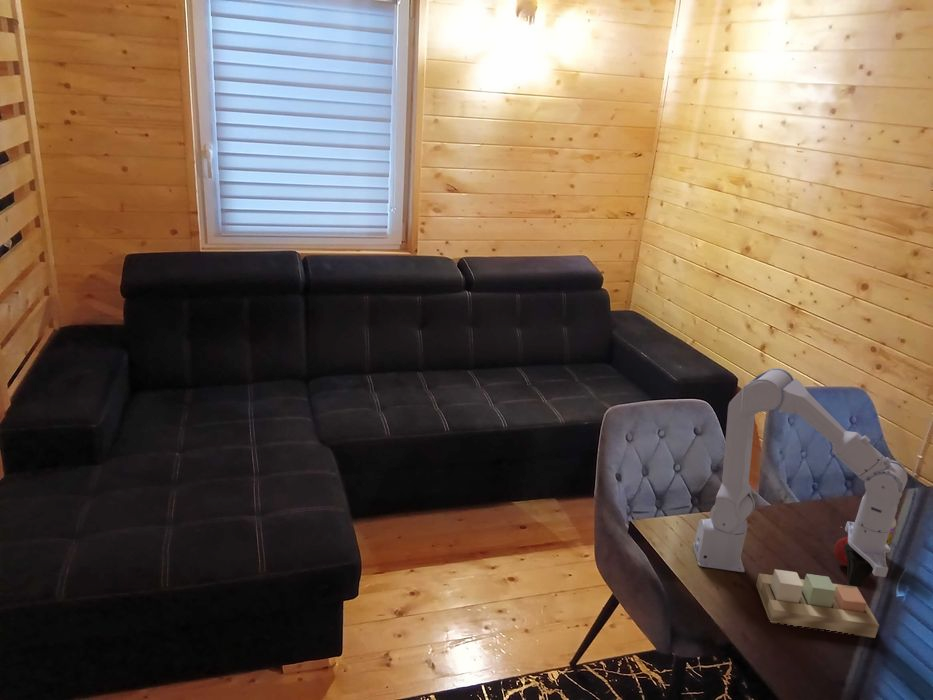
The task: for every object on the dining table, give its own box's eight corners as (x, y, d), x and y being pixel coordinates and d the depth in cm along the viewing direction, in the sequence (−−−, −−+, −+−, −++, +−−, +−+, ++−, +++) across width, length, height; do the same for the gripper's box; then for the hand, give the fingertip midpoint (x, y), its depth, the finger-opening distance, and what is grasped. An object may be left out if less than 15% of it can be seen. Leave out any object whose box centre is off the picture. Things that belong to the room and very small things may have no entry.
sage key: (808, 604, 134) (813, 587, 132) (801, 590, 137) (806, 573, 136) (831, 607, 133) (836, 590, 132) (823, 593, 137) (828, 576, 136)
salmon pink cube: (838, 617, 134) (843, 600, 132) (830, 602, 137) (835, 586, 136) (861, 620, 133) (866, 603, 132) (853, 605, 137) (858, 589, 136)
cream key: (776, 599, 134) (780, 582, 133) (770, 585, 138) (774, 569, 137) (798, 603, 134) (803, 586, 132) (792, 588, 138) (796, 572, 136)
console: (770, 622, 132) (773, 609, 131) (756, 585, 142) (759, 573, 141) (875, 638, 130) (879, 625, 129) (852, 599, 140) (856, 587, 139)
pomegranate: (863, 576, 148) (873, 545, 145) (834, 571, 149) (844, 540, 146) (854, 560, 153) (864, 529, 150) (827, 555, 154) (836, 524, 151)
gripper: (913, 550, 121) (892, 612, 126) (879, 505, 135) (861, 563, 139) (871, 544, 122) (851, 606, 127) (841, 500, 135) (824, 558, 140)
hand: (853, 583), depth 133 cm, fingers closed
